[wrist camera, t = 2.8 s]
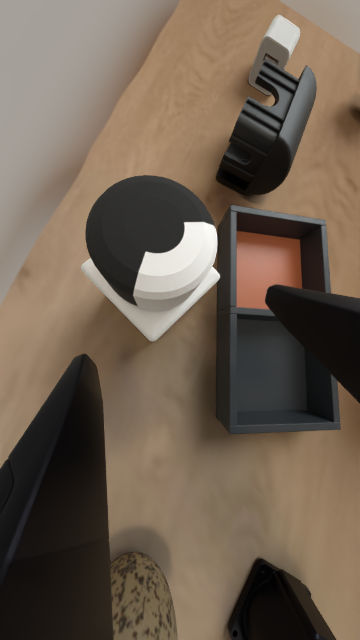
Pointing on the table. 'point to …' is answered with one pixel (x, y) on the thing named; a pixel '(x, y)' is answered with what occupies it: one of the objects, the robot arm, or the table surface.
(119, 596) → the decorative egg
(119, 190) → the medicine bottle
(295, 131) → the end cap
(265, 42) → the usb wall charger
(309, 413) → the divided tray
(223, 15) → the table surface
